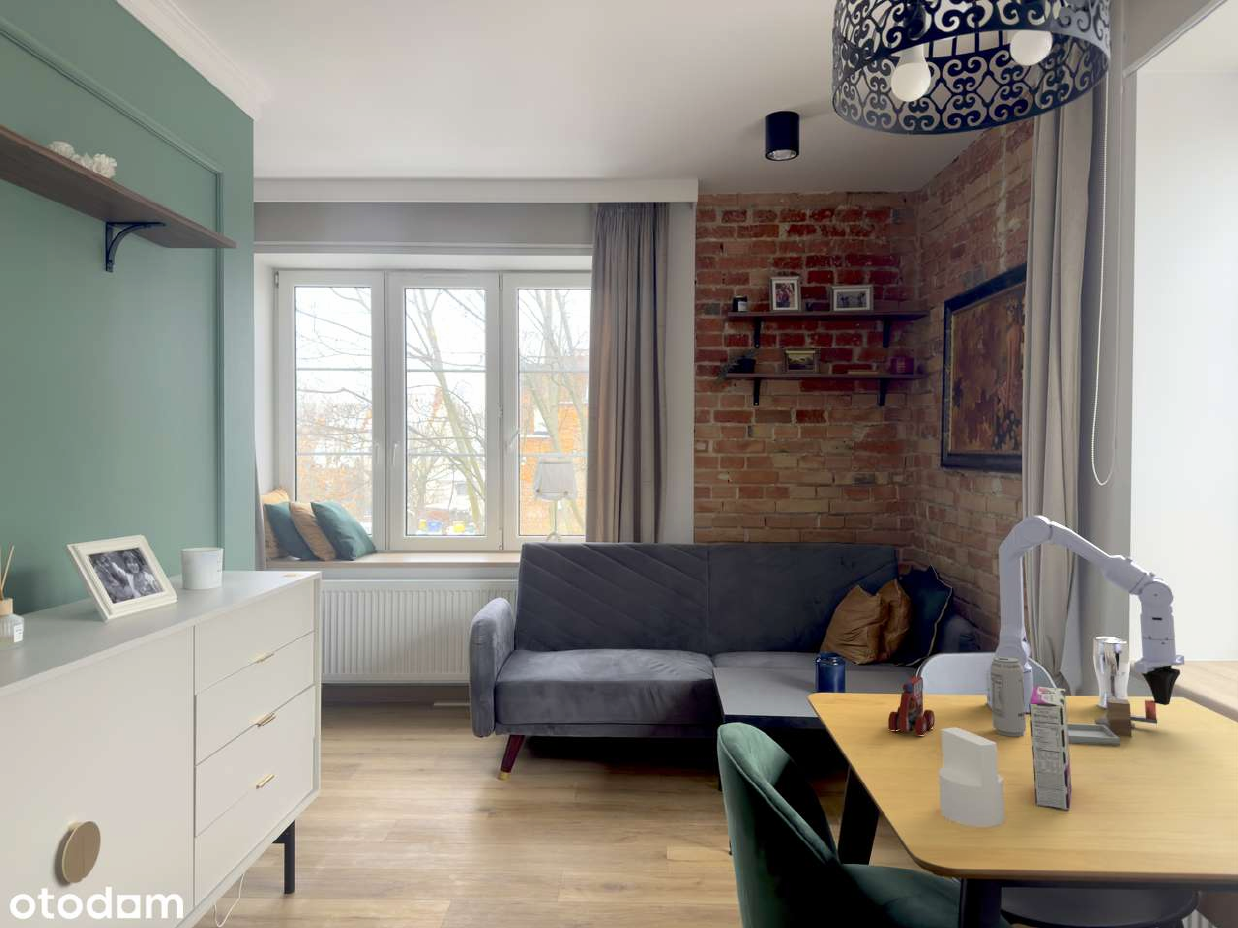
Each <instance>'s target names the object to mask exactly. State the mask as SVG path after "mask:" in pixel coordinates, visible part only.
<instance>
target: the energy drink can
mask: <svg viewBox="0 0 1238 928" xmlns="http://www.w3.org/2000/svg"><path fill="white" fill-rule="evenodd" d="M989 666H990V669H991V690H992V709H991V711H992V726H993V729H995V732H996V733H997V734H999V735H1000V736H1001V735H1002V736H1007V737H1023V735H1024V732H1026V731H1027V723H1026V722H1027V720H1026V719H1027V717H1026V713H1025V697H1024V677H1023V667H1022V666H1021V664H1020V662H1019V659H1018V658H1014V657H1006V656H999V657H996V656H995V657H993V658H992V662H991V664H990V665H989Z"/></svg>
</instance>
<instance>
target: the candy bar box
mask: <svg viewBox="0 0 1238 928" xmlns="http://www.w3.org/2000/svg"><path fill="white" fill-rule="evenodd" d="M1066 699H1067V698H1066V689H1065V688H1057V687H1047V686H1045V687H1044V686H1033V692H1032V695H1031V698H1030V701H1029V709H1030V713H1029V720H1030V721H1029V725H1030V737H1031V752H1032V766H1033V782H1034V800H1035V801H1034V802H1035V806H1038V807H1043V808H1047V809H1048V808H1049V809H1054V810H1055V809H1056V810H1061V811H1062V810H1063V811H1070V806H1071V805H1070V804H1071V796H1072V777H1071V765H1070V764H1071V763H1070V762H1071V761H1070V746H1069V744H1070V743H1069V742H1068V728H1067V723H1068V717H1067V715H1068V714H1067V700H1066Z"/></svg>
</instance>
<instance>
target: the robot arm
mask: <svg viewBox="0 0 1238 928" xmlns="http://www.w3.org/2000/svg"><path fill="white" fill-rule="evenodd" d="M1049 540H1050V541H1049ZM1047 541H1049V546H1060V547H1064V548H1067V549H1069V550H1070V551H1072V552H1074V553H1076V554H1077V555H1079V556H1080V557H1082V558H1084V559H1085V560H1087V561H1089V562H1090V563H1092V564H1094V565H1095V566H1097V567H1099V568H1100V570H1101V575H1102V577H1103V578H1105V579H1106V580H1108V582H1111V583H1112V584H1114V585H1115V586H1117V587H1118V588H1120V589H1122V590H1124V592H1126V593H1128V594H1130V595H1133V596H1137V597H1138V599H1139V601H1140V605H1141V607H1140V608H1141V613H1140V615H1139V616H1140V618H1139V619H1140V632H1141V633H1140V634H1141V651H1142V657H1141V658H1140V659H1139V660H1138V661H1135V662H1133V666H1134V667H1133V668H1134V673H1140V674H1142V676H1143V677H1144V679H1145V681H1146V682H1147V684H1148V686H1149V690H1150V692H1151V695H1152V699H1153V701H1155V703H1156V704H1159V705H1162V706H1167V705H1170V703H1171V698H1172V693H1173V689H1174V686H1175V683H1176V681H1177V679H1178V677H1179V676H1180V675H1181V670H1180V669H1179V668H1173V666H1176V667H1179V666H1183V665H1185V655H1183V654H1178V653H1177V650H1176V633H1175V622H1174V621H1175V619H1174V618H1175V617H1174V615H1173V612H1174V611H1173V606H1172V603H1173V601H1174V595H1173V592H1172V589H1171V587H1170V585H1169V584H1168V583H1167V582H1166V581H1164V580H1163V578H1160V577H1155V576H1156V573H1154V572H1153V571H1150V572H1148V571H1147V570H1145V569H1143V568H1142V567H1140V566H1139V565H1137V564H1135V563H1134V562H1133V561H1134V559H1132V557H1130V556H1126V557H1124V556H1123V555H1120V554H1119V555H1109V554H1108V553H1106V552H1104V551H1103V550H1101V549H1100V548H1099V547H1097V546H1095V545H1094V544H1092V543H1091V542H1089V541H1088V540H1087V539H1085V538H1084V537H1082V536H1081V535H1079V534H1078V533H1076V532H1074V531H1073V530H1072V529H1071V528H1067V527H1066V526H1064V525H1062V524H1060V523H1058V522H1056V521H1051V520H1050V519H1049V518H1048V517H1046V516H1044V515H1040V514H1039V515H1038V514H1035V515H1031V516H1027V517H1025V518H1024V519H1022V520H1021V521H1020V522H1018V523H1016V524H1015V525H1013V527H1012V529H1011V531H1010V532H1009V533H1008V534H1007V536H1006V538H1005V539H1004V540H1003V542H1002V543H1001V545H1000V546H999V547H998V560H999V561H998V563H999V565H998V566H999V598H1000V625H1001V626H1000V632H999V643H998V646H997V647H996V650H995V655H994V656H995V657H999V656H1006V657H1014V658H1018V659H1019V662H1020V664H1021V666H1022V667H1023V677H1024V697H1025V714H1030V709H1029V701H1030V698H1031V695H1032V692H1033V688H1034V681H1033V680H1034V677H1033V667H1032V666H1031V665H1030V664H1029V662H1028V660H1029V659H1030V657H1031V655H1032V648H1031V645H1030V643H1029V642H1028V639H1027V632H1026V626H1025V605H1024V602H1025V601H1024V573H1023V572H1024V569H1023V557H1024V556H1025V555H1026V554H1027V553H1028V552H1029V551H1031V550H1032V549H1033V548H1035V547H1038V546H1039V545H1042V544H1044V543H1046V542H1047ZM985 680H986V681H985V682H986V685H985V686H986V703H987V705H988V706H989V708H990V709H991V710H992V690H991V669H990V668H989V667H988V668H986V672H985Z"/></svg>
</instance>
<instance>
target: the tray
mask: <svg viewBox="0 0 1238 928" xmlns="http://www.w3.org/2000/svg"><path fill="white" fill-rule="evenodd" d="M1067 728H1068V743H1069V744H1085V745H1104V746H1120V745H1121V743H1120V738H1119V737H1120V736H1116V735H1115V734H1114V733H1113V732H1112V731H1111V730H1110V729H1108V727H1106V726H1105V725H1098V724H1093V723H1092V724H1089V723H1069V722H1067Z"/></svg>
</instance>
